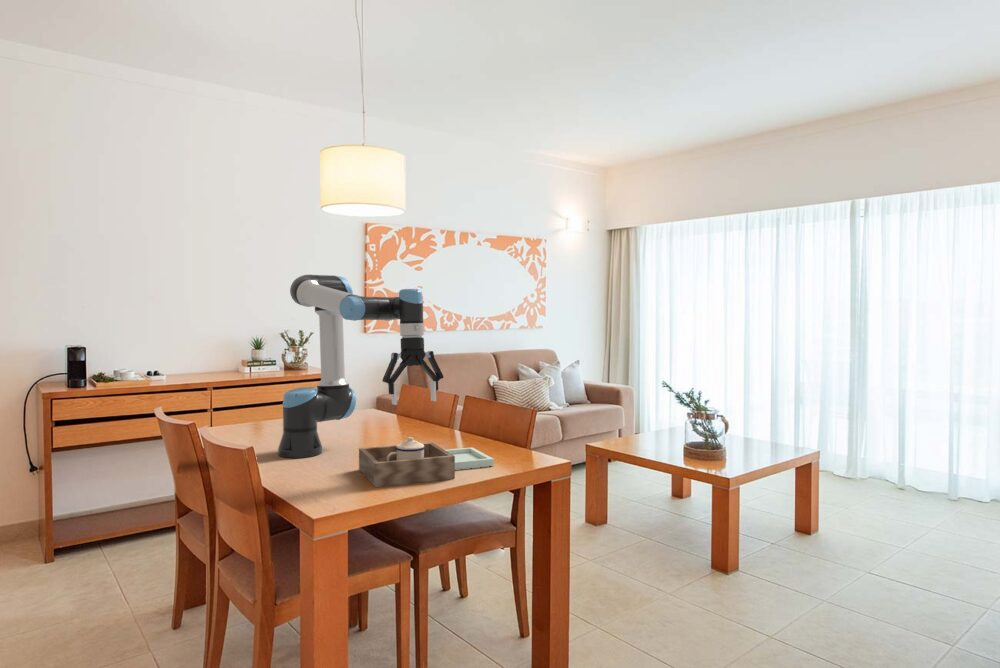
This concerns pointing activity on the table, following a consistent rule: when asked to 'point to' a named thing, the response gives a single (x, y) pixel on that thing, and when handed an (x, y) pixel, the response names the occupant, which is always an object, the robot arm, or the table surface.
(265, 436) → the table surface
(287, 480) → the table surface
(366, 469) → the deep box
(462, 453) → the tray
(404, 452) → the teacup with lid
